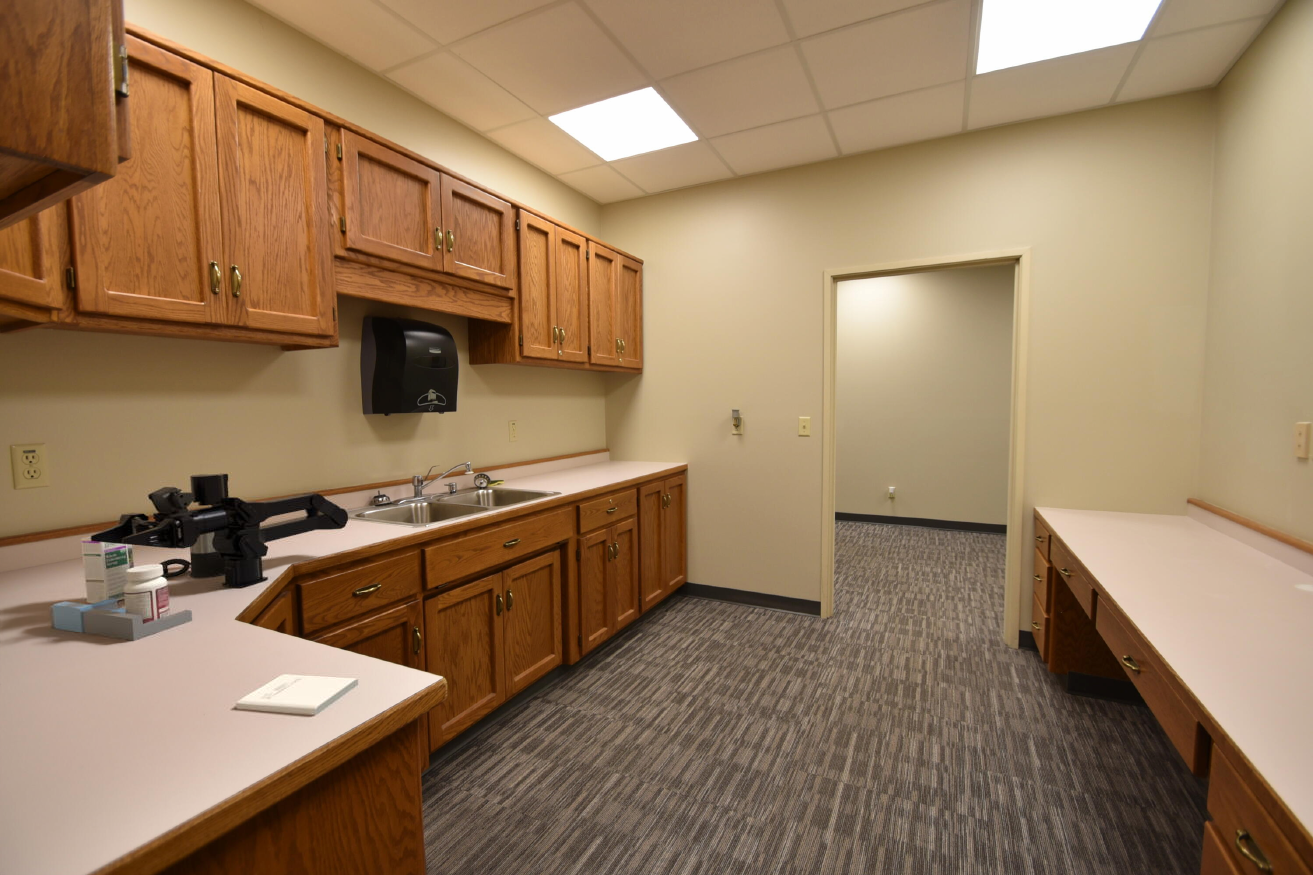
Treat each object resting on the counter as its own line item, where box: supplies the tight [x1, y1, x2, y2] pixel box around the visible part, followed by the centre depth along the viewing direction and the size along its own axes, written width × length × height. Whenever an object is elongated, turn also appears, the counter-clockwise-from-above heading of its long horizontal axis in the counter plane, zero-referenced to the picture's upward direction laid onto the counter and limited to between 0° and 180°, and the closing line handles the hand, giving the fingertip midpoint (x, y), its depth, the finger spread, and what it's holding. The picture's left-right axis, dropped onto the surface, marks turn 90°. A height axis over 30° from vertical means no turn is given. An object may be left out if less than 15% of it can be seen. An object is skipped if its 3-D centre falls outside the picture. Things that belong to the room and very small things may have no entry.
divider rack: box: [49, 598, 193, 641], centre depth 107 cm, size 24×10×5 cm, turn 73°
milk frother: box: [159, 532, 228, 579], centre depth 138 cm, size 14×16×15 cm
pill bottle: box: [123, 563, 171, 624], centre depth 105 cm, size 6×6×11 cm
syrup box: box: [80, 536, 135, 604], centre depth 120 cm, size 6×6×14 cm
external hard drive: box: [235, 673, 359, 716], centre depth 79 cm, size 2×8×12 cm
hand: (106, 539), depth 106 cm, fingers open, 9 cm apart
